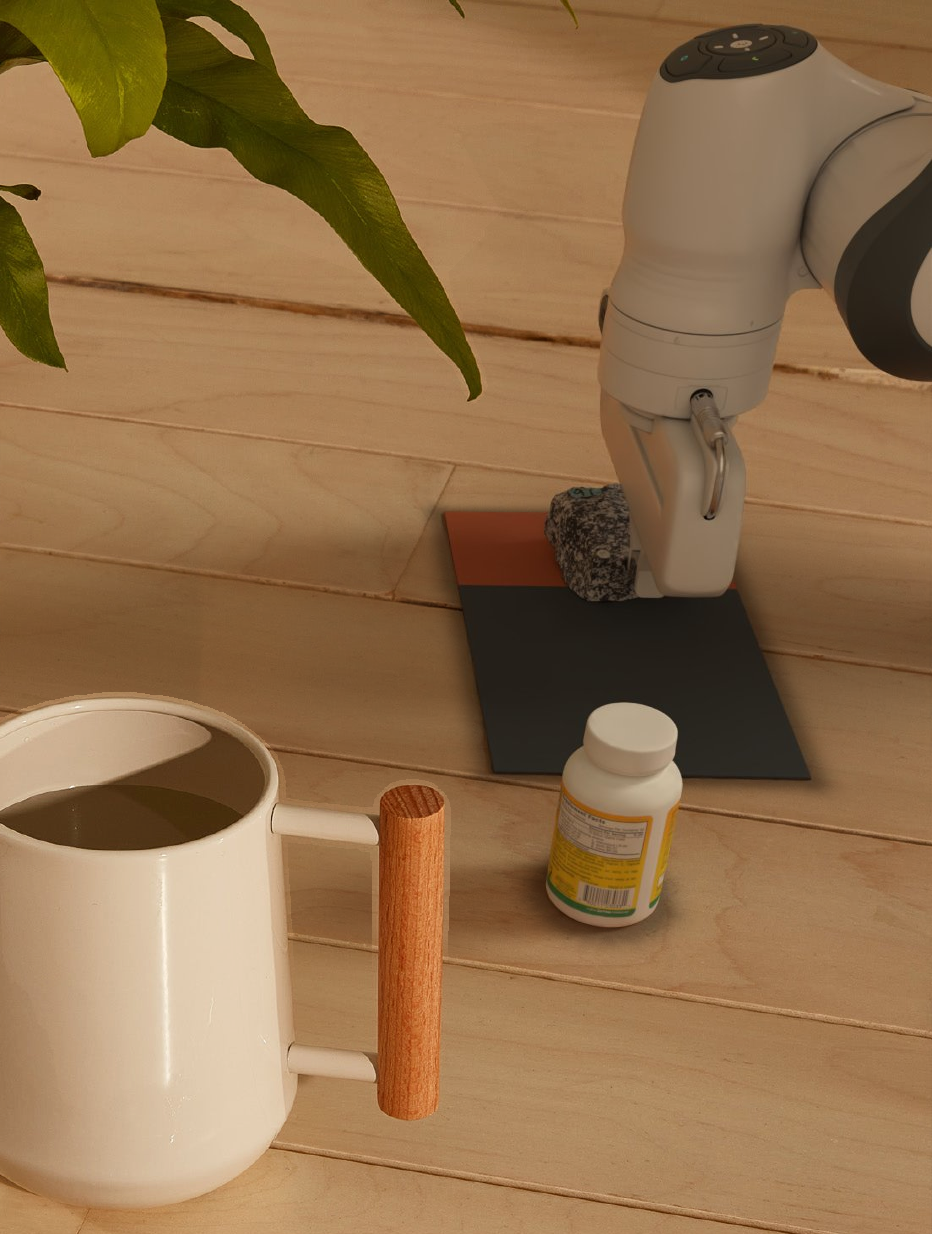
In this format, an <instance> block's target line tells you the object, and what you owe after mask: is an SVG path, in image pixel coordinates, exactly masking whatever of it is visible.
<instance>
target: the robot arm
mask: <svg viewBox="0 0 932 1234" xmlns="http://www.w3.org/2000/svg"><path fill="white" fill-rule="evenodd" d="M622 199H623V200H622V205H621V222H622V229H623V237H624V238H623V239H624V242H623V243H624V245H623V251H622V255H621V259H620V262H619V263H618V266H617V269H616V270H615V272H614V274H613V277H612V280H611V283H610V287H609V286H608V287H605V288H603V290H602V292H601V294H600V297H599V298H600V299H599V304H598V311H597V321H598V322H597V323H598V328H599V331H600V336H601V339H600V345H599V357H598V365H597V371H596V378H597V382H598V384H599V386H600V393H599V394H600V395H599V396H600V397H599V420H600V429H601V435H602V437H603V440H604V442H605V446H606V448H607V452H608V454H609V457H610V460H611V463H612V465H613V468H614V471H615V474H616V477H617V480H618V482H619V484H620V485H621V488H622V491H623V494H624V497H625V499H626V502H627V505H628V508H629V518H630V545H631V546H630V552H629V558H628V564H627V569H628V572H629V575H630V578H631V580H632V583H633V586H634V590H635V592H636V595H637V596H639V597H640V598H661V597H663V596H671V597H718V596H721V595H722V594H724V592H725V591H726V590H727V588H728V587H729V585H730V583H731V581H732V578H733V579H734V574H735V569H736V562H737V557H738V549H739V543H740V537H741V530H742V522H743V517H744V516H743V515H744V508H745V500H746V489H747V470H746V462H745V457H744V453H743V451H742V450H741V448H740V445H739V443H738V440H737V438H736V436H735V434H734V432H733V430H732V429H733V427H735V425H737V422H738V419H739V416H740V415H742V414H745V413H748V412H750V411H752V410H754V409H756V408H758V407H759V406H760V405H762V403H763V402H764V401H765V400H766V398H767V396H768V394H769V391H770V385H771V380H772V375H773V369H774V365H775V361H776V355H777V351H778V346H779V342H780V335H781V332H782V327H783V321H784V317H785V311H786V307H787V303H788V301H789V299H790V298H791V296H793V295H794V294H795V293H796V292H799V291H801V290H811V289H812V290H824V291H825V293H826V294H827V295H828V297H829V298H830V299H831V301H832V302H833V303H834V304H835V306H836V309H837V311H838V313H839V315H840V317H841V319H842V321H843V323H844V325H845V327H846V329H847V331H848V333H849V335H850V337H851V339H852V341H853V344H854V345H855V346H856V348H857V350H858V351H859V352H860V354H861V355H862V356H863V357H864V358H865V359H866V360H867V362H869V363H870V364H872V365H873V366H874V367H875V368H877V369H879V370H880V371H882V372H884V373H886V374H888V375H890V376H892V377H895V378H899V379H902V380H907V381H911V382H912V381H913V382H921V383H932V96H931V95H928V94H926V93H924V92H922V91H919V90H916V89H912V88H906V87H900V86H896V85H892V84H889V83H887V82H883V81H880V80H878V79H875V78H872V77H870V76H869V75H866V74H865V73H863V72H861V71H858V70H857V69H854V68H853V67H851V66H850V65H848V64H847V63H845V62H844V61H842V60H841V59H839V58H837V56H835V55H834V54H832V53H831V52H829V51H828V50H827V49H826V48H825V47H824V46H823V45H822V44H821V43H820V42H819V40H818V39H817V38H816V37H815V36H814V35H813V34H811V33H810V32H808V31H806V30H804V29H802V28H797V27H793V26H789V25H784V24H763V23H744V24H738V25H731V26H725V27H721V28H716V29H713V30H709V31H706V32H704V33H701V34H698V35H696V36H694V37H693V38H692V39H690V40H689V41H686V42H683V44H681V45H679V46H677V47H676V48H675V49H673V50H672V51H671V52H670V53H669V54H668V55H667V56H666V58H665V59H664V60H663V61H662V63H661V64H660V65H659V67H658V69H657V71H656V72H655V73H654V76H653V78H652V80H651V83H650V86H649V88H648V91H647V94H646V97H645V100H644V103H643V106H642V110H641V114H640V117H639V122H638V124H637V128H636V133H635V136H634V141H633V146H632V151H631V153H630V159H629V164H628V170H627V175H626V181H625V187H624V193H623V198H622Z"/></svg>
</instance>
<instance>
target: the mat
mask: <svg viewBox="0 0 932 1234" xmlns="http://www.w3.org/2000/svg"><path fill="white" fill-rule="evenodd" d="M548 513H549V512H529V511H528V512H522V511H521V512H519V511H459V510H458V511H455V510H453V511H451V510H444V512H443V515H444V520H445V524H446V530H447V537H448V541H449V546H450V552H451V556H452V557H451V558H452V561H453V567H454V573H455V577H456V583H457V588H458V593H459V598H460V603H461V609H462V614H463V619H464V623H465V629H466V630H465V631H466V635H467V640H468V641H467V642H468V645H469V650H470V655H471V661H472V667H473V671H474V677H475V682H476V688H477V692H478V697H479V702H480V708H481V713H482V718H483V719H482V720H483V725H484V729H485V734H486V740H487V745H488V746H487V747H488V751H489V756H490V760H491V767H492V771H493V774H502V775H505V774H506V775H507V774H508V775H556V776H557V775H559V776H561V775H562V776H563V771H564V767H565V765H566V763H567V761H568V759H569V758H570V756H571V755H572V754H573V753H574V752H575V751H576V750H577V749H579V748H580V747H582V746H584V744H583V739H584V734H585V729H586V724H587V720H588V718H589V716H590V714H591V713H592V712H593V711H594V710H596V709H597V708H599V707H601V706H604V705H607V704H612V703H636V704H641V705H645V706H648V707H651V708H654V709H656V710H658V711H660V712H662V713H664V714H665V715H667V716H668V717H669V718H670V719H671V720H672V721H673V722H674V724H675V725H676V728H677V732H678V736H677V742H676V748H675V755H674V758H673V760H672V761H673V762H674V763H675V764H676V766H677V767H678V769H679V771H680V774H681V777H682V778H703V779H705V778H706V779H707V778H708V779H709V778H710V779H711V778H712V779H714V778H715V779H753V780H754V779H756V780H757V779H759V780H760V779H763V780H764V779H765V780H808V781H809V780H812V775H811V772H810V770H809V767H808V765H807V763H806V762H807V761H806V760H805V757H804V755H803V752H802V749H801V747H800V744H799V743H798V740H797V737H796V735H795V732H794V729H793V727H792V725H791V721H790V719H789V717H788V713H787V712H786V709H785V707H784V704H783V702H782V699H781V697H780V694H779V691H778V690H777V687H776V685H775V681H774V679H773V677H772V674H771V671H770V668H769V666H768V663H767V661H766V658H765V656H764V654H763V651H762V649H761V646H760V643H759V641H758V639H757V636H756V632H755V631H754V628H753V625H752V623H751V621H750V618H749V615H748V613H747V610H746V607H745V605H744V603H743V600H742V598H741V595H740V592H739V590H738V588H737V585H736V583H735V580H734V577H733V578H732V581H731V583H730V585H729V587H728V588H727V590H726V591H725V592H724V594H722V595H721V596H718V597H671V596H663V597H661V598H640V597H637V598H632V599H628V600H623V601H588V600H586V599H585V598H581V597H580V596H579V595H577V594H576V593H575V592H574V591H573V590H571V589H570V587H569V585H567V584H566V583H565V581H564V580H563V578H562V574H561V572H562V570H561V567H560V564H559V563H558V562H557V561H556V560H555V555H556V550H555V549H554V548H553V547H552V546H551V545H550V542H549V540H548V539H547V538H546V536H545V534H544V529H545V524H544V523H545V520H546V516H547V514H548Z"/></svg>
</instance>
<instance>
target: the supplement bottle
mask: <svg viewBox="0 0 932 1234" xmlns="http://www.w3.org/2000/svg"><path fill="white" fill-rule="evenodd" d="M677 736H678V732H677V728H676V725H675V724H674V722H673V721H672V720H671V719H670V718H669V717H668V716H667V715H665V714H664V713H662V712H660V711H658V710H656V709H654V708H651V707H648V706H645V705H641V704H636V703H612V704H607V705H604V706H601V707H599V708H597V709H596V710H594V711H593V712H592V713H591V714H590V716H589V718H588V720H587V724H586V729H585V734H584V739H583V744H584V746H582V747H580V748H579V749H577V750H576V751H575V752H574V753H573V754H572V755H571V756H570V758H569V759H568V761H567V763H566V765H565V767H564V771H563V775H562V776H561V781H560V789H559V795H558V803H557V807H556V808H557V809H556V816H555V819H554V826H553V834H552V839H551V846H550V851H549V858H548V859H549V860H548V865H547V874H546V880H545V889H546V894H547V896H548V899H549V900H550V901H551V903H552V904H553V905H554V907H556V908H557V909H558V910H559V911H560V912H562V913H563V914H565V915H566V916H567V917H569V918H571V919H573V920H575V921H577V922H580V923H582V924H585V925H589V926H593V927H594V926H595V927H600V928H622V927H627V926H631V925H632V926H633V925H635V924H637V923H640V922H641V921H644V920H645V919H647V918H648V917H649V916H650V915H652V914H653V912H654V911H655V910H656V908H657V906H658V904H659V901H660V897H661V893H662V888H663V883H664V878H665V874H666V869H667V864H668V859H669V854H670V850H671V846H672V841H673V835H674V833H675V832H674V831H675V827H676V821H677V816H678V812H679V807H680V803H681V798H682V793H683V777H681V774H680V771H679V769H678V767H677V766H676V764H675V763H674V762H673V761H672V760H673V758H674V755H675V748H676V742H677Z"/></svg>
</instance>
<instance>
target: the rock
mask: <svg viewBox="0 0 932 1234" xmlns="http://www.w3.org/2000/svg"><path fill="white" fill-rule="evenodd" d="M547 513H548V514H547V516H546V520H545V523H544V524H545V529H544V534H545V536H546V538H547V539H548V540H549V542H550V545H551V546H552V547H553V548H554V549H555V550H556V555H555V560H556V561H557V562H558V563H559V564H560V567H561V570H562V572H561V574H562V578H563V580H564V581H565V583H566V584H567V585H569V587H570V589H571V590H573V591H574V592H575V593H576V594H577V595H579V596H580V597H581V598H585V599H586V600H588V601H623V600H628V599H632V598H637V597H639V596H637V595H636V592H635V590H634V586H633V583H632V580H631V578H630V575H629V572H628V569H627V564H628V558H629V552H630V546H631V545H630V518H629V508H628V505H627V502H626V499H625V497H624V494H623V491H622V488H621V485H620V483H609V484H607V485H603V486H602V487H584V486H580V487H578V486H573V487H570V488H568V489H567V490H563V491H561V492H559V493H556V494H555V495H554V496H553V497H552V499H551V501H550V506H549V511H548V512H547Z"/></svg>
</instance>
